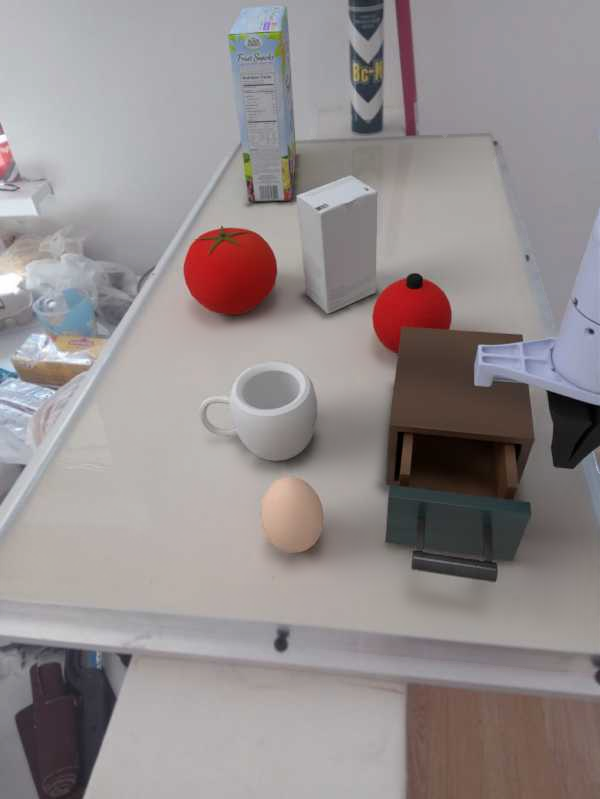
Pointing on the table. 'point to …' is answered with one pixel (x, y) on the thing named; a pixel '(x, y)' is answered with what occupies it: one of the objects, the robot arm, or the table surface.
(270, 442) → the mug
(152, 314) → the table surface
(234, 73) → the snack box
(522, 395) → the cabinet
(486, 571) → the drawer
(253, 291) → the tomato
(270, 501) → the egg
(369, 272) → the cosmetic box
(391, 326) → the ornament
